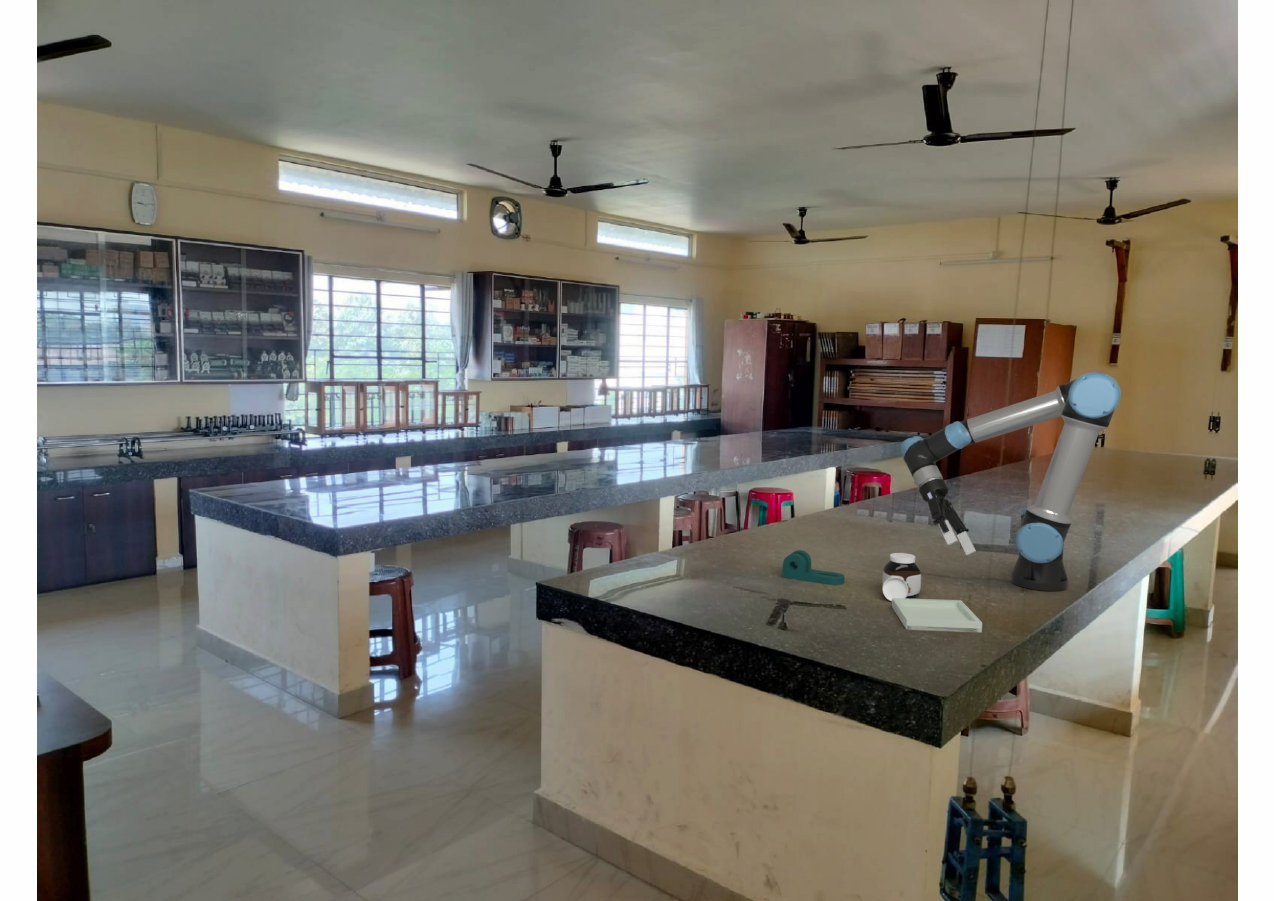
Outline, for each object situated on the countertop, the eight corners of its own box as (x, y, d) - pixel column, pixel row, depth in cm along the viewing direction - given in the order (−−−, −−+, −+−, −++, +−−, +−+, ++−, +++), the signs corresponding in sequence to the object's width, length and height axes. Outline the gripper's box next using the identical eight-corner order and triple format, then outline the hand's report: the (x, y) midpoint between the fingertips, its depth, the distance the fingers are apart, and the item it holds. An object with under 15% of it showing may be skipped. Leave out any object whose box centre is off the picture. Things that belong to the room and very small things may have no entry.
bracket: (782, 578, 244) (783, 553, 243) (789, 573, 250) (790, 548, 249) (840, 587, 235) (841, 561, 234) (846, 581, 241) (847, 556, 240)
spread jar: (913, 591, 230) (915, 552, 228) (928, 603, 219) (930, 562, 217) (872, 591, 229) (873, 552, 228) (885, 604, 218) (887, 562, 217)
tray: (960, 609, 213) (961, 600, 213) (981, 632, 196) (982, 622, 195) (891, 606, 216) (892, 597, 215) (906, 629, 198) (906, 619, 197)
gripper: (936, 501, 242) (966, 563, 231) (901, 479, 225) (932, 544, 213) (958, 489, 239) (990, 551, 227) (924, 466, 222) (957, 531, 210)
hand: (962, 548), depth 220 cm, fingers open, 13 cm apart
